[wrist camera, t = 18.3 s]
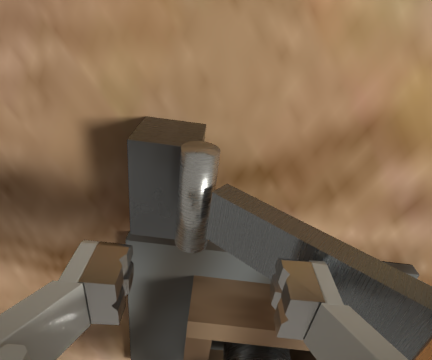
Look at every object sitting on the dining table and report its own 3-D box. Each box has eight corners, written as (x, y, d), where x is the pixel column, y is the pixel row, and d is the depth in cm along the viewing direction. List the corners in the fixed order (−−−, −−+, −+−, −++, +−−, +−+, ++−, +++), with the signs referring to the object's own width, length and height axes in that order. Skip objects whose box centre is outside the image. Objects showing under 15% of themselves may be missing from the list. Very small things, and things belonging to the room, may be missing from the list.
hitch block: (412, 265, 19) (454, 323, 15) (339, 379, 26) (356, 436, 22) (129, 231, 18) (105, 283, 15) (133, 357, 25) (118, 412, 22)
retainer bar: (228, 180, 12) (542, 336, 7) (220, 228, 14) (484, 388, 9) (211, 190, 11) (552, 374, 7) (204, 241, 13) (485, 425, 8)
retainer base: (221, 126, 15) (219, 159, 11) (210, 208, 17) (206, 255, 14) (145, 116, 14) (120, 147, 11) (145, 200, 17) (125, 245, 14)
